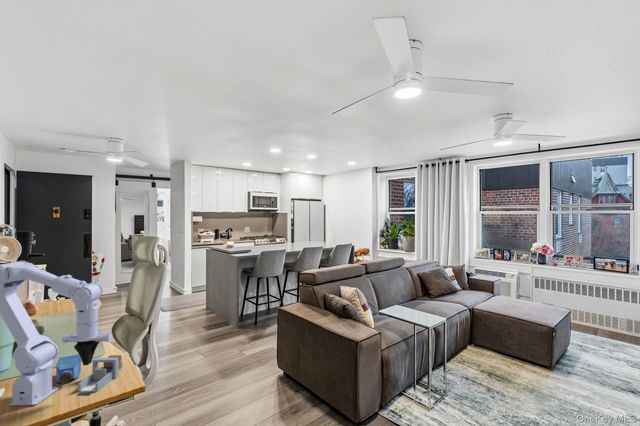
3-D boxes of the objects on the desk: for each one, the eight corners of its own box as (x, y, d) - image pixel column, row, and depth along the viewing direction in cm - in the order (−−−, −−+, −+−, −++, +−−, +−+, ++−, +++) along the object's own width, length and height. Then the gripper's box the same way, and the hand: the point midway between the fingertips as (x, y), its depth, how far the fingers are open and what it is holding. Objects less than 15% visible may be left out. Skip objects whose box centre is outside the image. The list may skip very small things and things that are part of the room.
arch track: (96, 394, 102) (96, 374, 102) (70, 395, 102) (71, 374, 102) (125, 370, 118) (125, 352, 118) (103, 370, 118) (103, 352, 118)
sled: (104, 381, 110) (104, 369, 110) (93, 381, 110) (93, 369, 110) (122, 367, 120) (122, 356, 120) (111, 367, 120) (111, 356, 120)
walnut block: (114, 371, 115) (114, 360, 115) (103, 371, 115) (103, 360, 115) (121, 365, 119) (121, 355, 119) (110, 366, 119) (110, 355, 119)
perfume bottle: (80, 353, 118) (76, 367, 108) (80, 370, 118) (76, 385, 108) (59, 357, 115) (53, 371, 105) (59, 374, 115) (53, 390, 105)
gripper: (117, 317, 107) (117, 357, 107) (73, 318, 106) (73, 358, 106) (104, 324, 100) (104, 367, 100) (56, 325, 99) (56, 369, 99)
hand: (87, 363), depth 103 cm, fingers closed
